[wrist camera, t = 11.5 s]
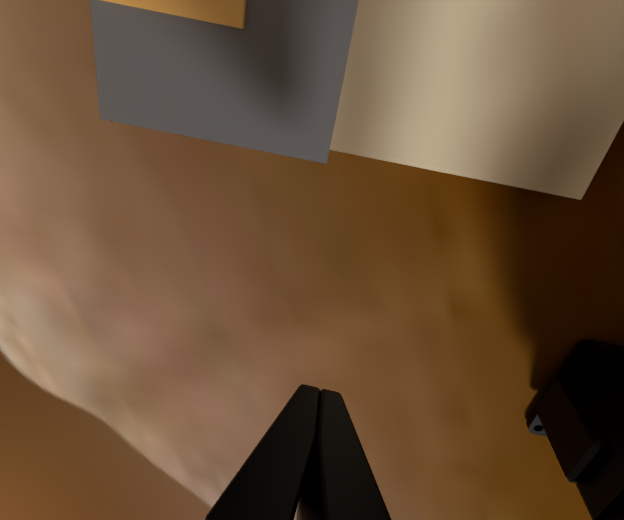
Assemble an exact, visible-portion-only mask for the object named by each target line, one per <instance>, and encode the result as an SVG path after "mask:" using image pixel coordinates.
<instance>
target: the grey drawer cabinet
mask: <svg viewBox="0 0 624 520" xmlns="http://www.w3.org/2000/svg"><path fill="white" fill-rule="evenodd" d="M90 2H91V14H92V27H93V39H94V51H95V63H96V76H97V88H98V100H99V113H100V119H104V120H109V121H114V122H119V123H124V124H129V125H134V126H139V127H144V128H149V129H154V130H159V131H164V132H169V133H174V134H179V135H184V136H189V137H194V138H199V139H204V140H209V141H214V142H219V143H224V144H229V145H234V146H239V147H244V148H250V149H255V150H260V151H265V152H270V153H275V154H280V155H285V156H290V157H295V158H300V159H305V160H310V161H315V162H320V163H325V164H327V159H328V154H329V149H330V145H331V140H332V135H333V130H334V125H335V120H336V115H337V110H338V105H339V100H340V95H341V90H342V84H343V79H344V74H345V69H346V64H347V59H348V54H349V49H350V44H351V38H352V33H353V28H354V23H355V18H356V13H357V8H358V3H359V0H90Z"/></svg>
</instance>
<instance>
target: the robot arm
mask: <svg viewBox="0 0 624 520" xmlns="http://www.w3.org/2000/svg"><path fill="white" fill-rule="evenodd" d="M587 350H589V351H587ZM586 351H587V352H586ZM526 424H527V427H528V429H529V431H530V432H531V433H533V434H537V435H542V436H547V437H548V439H549V441H550V443H551V446H552V448H553V450H554V452H555V454H556V457H557V459H558V461H559V463H560V465H561V468H562V470H563V472H564V474H565V476H566V478H567V479H568V481H569V482H571V483H576V485H577V488H578V490H579V492H580V494H581V496H582V498H583V500H584V503H585V505H586V507H587V509H588V511H589V513H590V515H591V518H592V520H624V347H622V346H617V345H612V344H607V343H601V342H596V341H591V340H585V341H582V342H580V343H578V344H577V345H576V346H575V348H574V349H573V351H572V352H571V354H570V355H569V357H568V358H567V360H566V361H565V363H564V364H563V366H562V368H561V369H560V371H559V372H558V374H557V375H556V377H555V378H554V380H553V381H552V383H551V384H550V386H549V387H548V389H547V390H546V392H545V394H544V395H543V397H542V398H541V400H540V401H539V403H538V404H537V406H536V407H535V409H534V410H533V412H532V413H531V415H530V417H529V418H528V420H527V422H526ZM297 505H298V506H297ZM296 509H297V520H391V518H390V515H389V513H388V510H387V508H386V505H385V503H384V500H383V498H382V495H381V493H380V490H379V488H378V485H377V483H376V480H375V478H374V475H373V473H372V470H371V468H370V465H369V463H368V460H367V458H366V455H365V453H364V450H363V448H362V445H361V443H360V440H359V438H358V435H357V433H356V430H355V428H354V425H353V423H352V420H351V418H350V415H349V413H348V410H347V408H346V405H345V403H344V400H343V398H342V396H341V394H340V393H338V392H335V391H330V390H326V389H322V390H321V391H320V390H319V388H317V387H313V386H309V385H304V384H302V385H300V386H299V387H298V389H297V390H296V392H295V393H294V394H293V396H292V397H291V399H290V400H289V401H288V403H287V404H286V405H285V407H284V408H283V410H282V411H281V412H280V414H279V415H278V417H277V418H276V419H275V421H274V422H273V424H272V425H271V426H270V428H269V429H268V431H267V432H266V433H265V435H264V436H263V438H262V439H261V440H260V442H259V443H258V445H257V446H256V447H255V449H254V450H253V452H252V453H251V454H250V456H249V457H248V459H247V460H246V461H245V463H244V464H243V465H242V467H241V468H240V470H239V471H238V472H237V474H236V475H235V477H234V478H233V479H232V481H231V482H230V484H229V485H228V486H227V488H226V489H225V491H224V492H223V493H222V495H221V496H220V498H219V499H218V500H217V502H216V503H215V505H214V506H213V507H212V509H211V510H210V512H209V513H208V514H207V516H206V518H205V520H293V519H294V516H295V512H296Z"/></svg>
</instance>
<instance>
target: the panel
mask: <svg viewBox="0 0 624 520" xmlns="http://www.w3.org/2000/svg"><path fill="white" fill-rule="evenodd" d="M623 121H624V0H359V3H358V8H357V13H356V18H355V23H354V28H353V33H352V38H351V44H350V49H349V54H348V59H347V64H346V69H345V74H344V79H343V84H342V90H341V95H340V100H339V105H338V110H337V115H336V120H335V125H334V130H333V135H332V140H331V145H330V149H329V150H334V151H339V152H344V153H349V154H354V155H359V156H364V157H369V158H374V159H379V160H384V161H389V162H394V163H399V164H404V165H409V166H414V167H419V168H424V169H429V170H434V171H439V172H444V173H449V174H454V175H459V176H464V177H469V178H474V179H479V180H484V181H489V182H494V183H499V184H504V185H509V186H514V187H519V188H524V189H529V190H534V191H539V192H544V193H549V194H554V195H559V196H563V197H568V198H573V199H578V200H581V199H582V197H583V196H584V194H585V192H586V190H587V188H588V186H589V184H590V183H591V181H592V179H593V177H594V175H595V173H596V171H597V170H598V168H599V166H600V164H601V162H602V160H603V158H604V156H605V155H606V153H607V151H608V149H609V147H610V145H611V143H612V142H613V140H614V138H615V136H616V134H617V132H618V130H619V129H620V127H621V125H622V123H623Z"/></svg>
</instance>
